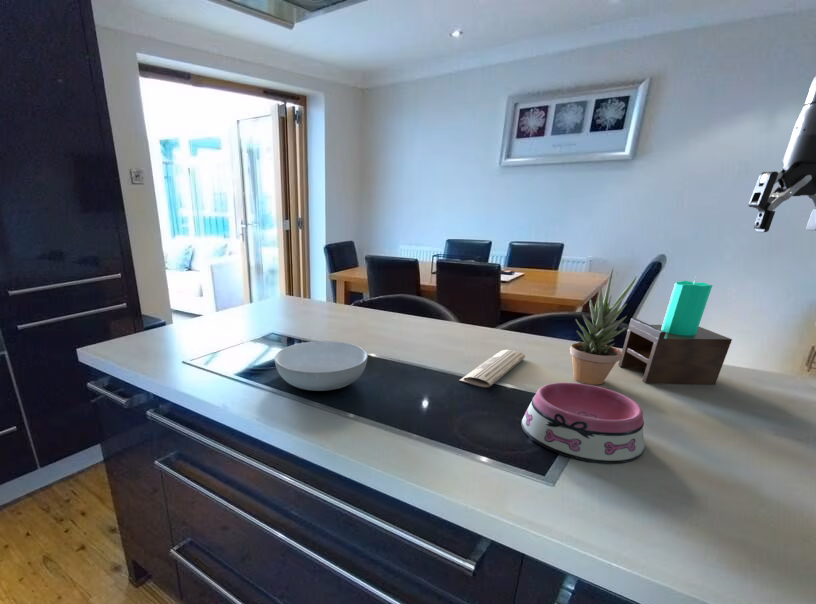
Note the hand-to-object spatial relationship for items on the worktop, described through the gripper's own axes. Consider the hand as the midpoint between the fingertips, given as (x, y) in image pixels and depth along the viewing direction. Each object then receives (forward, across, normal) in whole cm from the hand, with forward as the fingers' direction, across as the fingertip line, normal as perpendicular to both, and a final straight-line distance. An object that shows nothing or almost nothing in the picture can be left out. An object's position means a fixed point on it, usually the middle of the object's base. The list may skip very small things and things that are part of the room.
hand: (786, 231), depth 82 cm
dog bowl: (+30, -41, -25) cm, 57 cm away
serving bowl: (+30, -89, -4) cm, 93 cm away
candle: (+21, -10, +5) cm, 24 cm away
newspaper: (+30, -48, +6) cm, 57 cm away
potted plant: (+31, -29, +1) cm, 42 cm away
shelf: (+31, -11, +5) cm, 33 cm away
